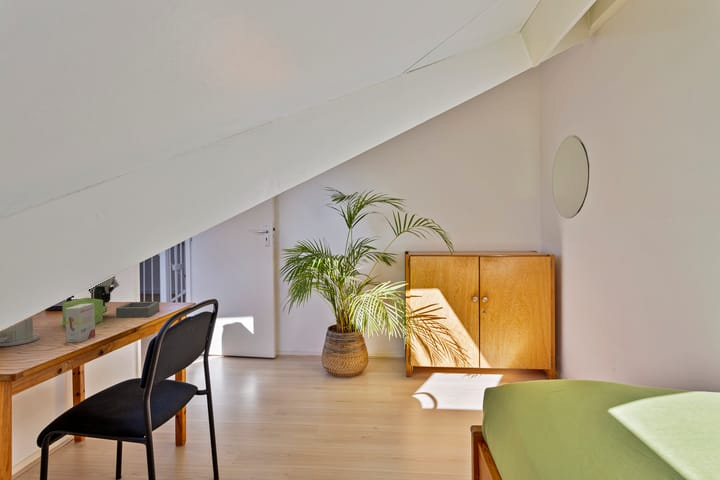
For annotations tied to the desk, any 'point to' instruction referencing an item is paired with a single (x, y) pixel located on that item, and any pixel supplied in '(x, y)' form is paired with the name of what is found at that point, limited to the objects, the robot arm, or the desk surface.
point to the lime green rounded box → (97, 303)
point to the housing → (137, 309)
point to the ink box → (80, 322)
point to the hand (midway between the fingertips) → (100, 301)
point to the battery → (99, 294)
